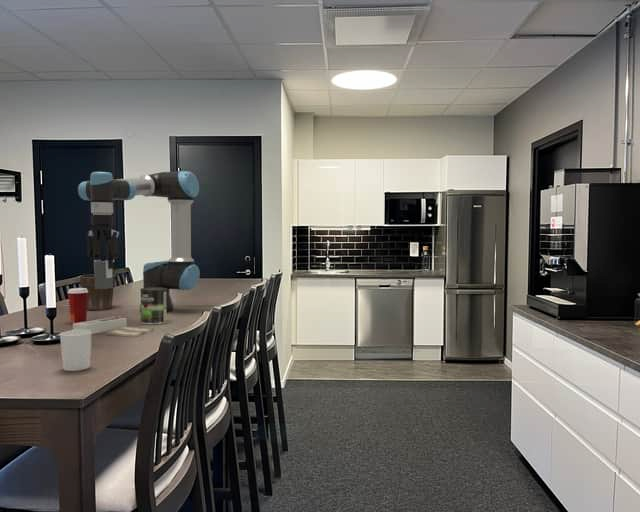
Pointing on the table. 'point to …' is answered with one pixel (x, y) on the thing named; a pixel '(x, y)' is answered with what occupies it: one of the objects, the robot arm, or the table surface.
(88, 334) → the white cup
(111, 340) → the table surface
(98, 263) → the block
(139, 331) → the birch pad
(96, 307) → the plant pot
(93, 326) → the power strip
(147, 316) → the coffee can
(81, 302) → the paper cup
